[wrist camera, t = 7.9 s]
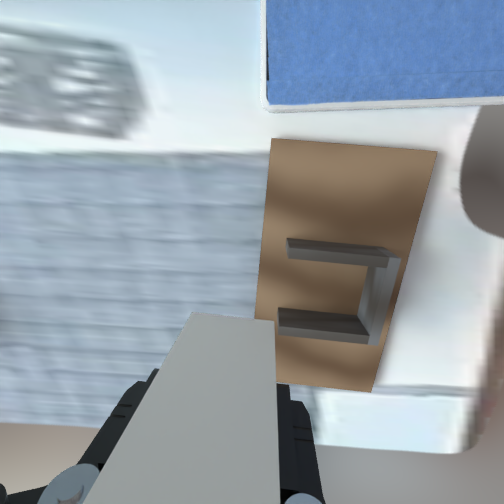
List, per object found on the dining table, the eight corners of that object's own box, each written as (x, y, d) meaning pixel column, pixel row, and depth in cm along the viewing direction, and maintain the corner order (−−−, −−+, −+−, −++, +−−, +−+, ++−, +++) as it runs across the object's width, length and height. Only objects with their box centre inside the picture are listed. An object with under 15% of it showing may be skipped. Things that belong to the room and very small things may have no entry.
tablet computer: (260, 115, 20) (260, 111, 19) (259, -104, 16) (258, -128, 15) (525, 106, 19) (544, 101, 17) (588, -134, 15) (617, -162, 14)
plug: (192, 311, 12) (-68, 766, 3) (274, 321, 12) (290, 834, 3) (190, 378, 14) (1, 862, 4) (265, 387, 13) (256, 914, 4)
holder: (271, 139, 20) (272, 131, 16) (429, 152, 19) (469, 147, 16) (249, 371, 26) (245, 404, 22) (367, 384, 26) (384, 421, 22)
